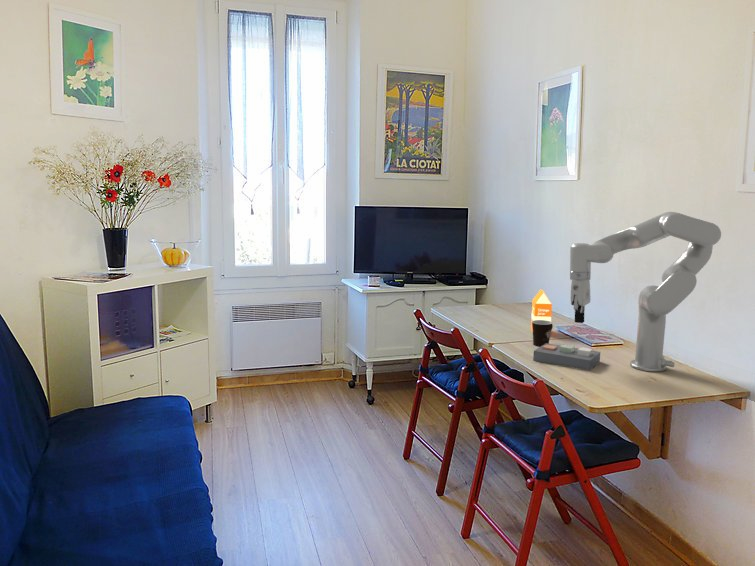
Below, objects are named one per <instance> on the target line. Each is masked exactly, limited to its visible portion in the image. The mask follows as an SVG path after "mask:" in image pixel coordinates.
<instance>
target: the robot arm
mask: <svg viewBox="0 0 755 566" xmlns="http://www.w3.org/2000/svg"><path fill="white" fill-rule="evenodd" d="M670 236H671V237H673V238H676V239H679V240H683V241H686V242H688V244H687V247H686V249H684V251H683V252H682V254H681V255H680V256H679V257H678V258H677V259H676V260H674V261H673V262H672V263H671V264H670V266H669V267H667V268H666V269H665V270H664V271H663V273H662V276H661V282H662V283H661V284H660V285H659V286H658V285H648V286H646V287H644V288H643V289H642V290H641V291H640V293H639V296H638V303H637V304H638V320H637V321H638V322H637V332H636V343H635V356H634V359H633V360H630V363H629V365H630V366H631V367H632V368H634V369H637V370H640V371H645V372H657V373H658V372H663V371H665V370H666V369H667V367H668V368H669V367H671V368H675V366H676V365H675V362H674V361H673V360H668V359H666V358H665V355H663V354H664V344H665V335H666V334H665V333H666V324H667V320H666V317H667V315H668V314H669V313H671V312H672V311H674V309H676V308H677V307H678V306H679V305H680V304H681V303H682V302H683V301H684V300H686V298H687V297H688V296H689V295H690V294H691V293H693V291H694V290H695V288H696V286H697V274H699V272H700V271H701V270H702V269H703V268H704V267H705V266H706V265H707V263H708V262H709V261H710V259H711V256H712V254H713V249H714V248H713V247H714V245H716V244H718V242H719V241H720V240H721V237H722V231H721V228H720V227H719V226H718V225H717V224H715V223H713V222H709V221H706V220H703V219H700V218H696V217H692V216H689V215H686V214H683V213H680V212H677V211H675V212H674V211H667V212H663V213H661V214H659V215H657V216H655V217H652V218H650V219H648V220H644V221H643V222H641V223H639V224H636V225H634V226H631V227H628V228H626V229H623V230H621V231H617V232H615V233H613V234H612V233H611V234H610V235H607V236H605V237H603V238H601V239H598V240H596V241H595V242H593V243H591V244H589V243H585V242H583V243H581V242H577V243H573V244H571V246H570V248H569V249H570V251H569V253H570V255H569V256H570V257H569V258H570V259H569V280H570V281H571V286H570V305H572V306H573V310H574V323H578V324H583V323H584V322H585V310H586V308H585V307H586V305H588V304H590V303H591V281H590V280H591V277H592V276H591V274H592V273H591V270H592V268H591V267H592V266H591V265H592V263H597V264H607V263H609V262H610V261H612V259H613V258H614V255H615V254H618V253H620V252H623V251H626V250H633V249H640V248H645V247H647V246H649V245H651V244H653V243H656V242H658V241H661V240H663V239H666V238H667V237H670Z"/></svg>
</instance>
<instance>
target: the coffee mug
mask: <svg viewBox="0 0 755 566" xmlns="http://www.w3.org/2000/svg"><path fill="white" fill-rule="evenodd" d="M553 327H554V325H553V321H551V322H550V321H546V320H534V321H532V331H533V332H532V331H531V332H532V340H533V341H532V342H533V343H532V345H534V346H536V347H541V346H542V345H544V344H546V343H548V344H550V339H551V334H552V330H553Z"/></svg>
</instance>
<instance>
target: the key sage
mask: <svg viewBox="0 0 755 566" xmlns="http://www.w3.org/2000/svg"><path fill="white" fill-rule="evenodd" d="M575 348H576V346H575V345H571V344H570V345H568V344H562V345H560V352H563V353H569V354H572V353H573V352H574V349H575Z"/></svg>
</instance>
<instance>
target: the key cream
mask: <svg viewBox="0 0 755 566" xmlns="http://www.w3.org/2000/svg"><path fill="white" fill-rule="evenodd" d="M593 351H594V350H593V348H589V347H583V346H582V347H579V349H578V355H581V356H587V357H590V356H591V355H592V352H593Z"/></svg>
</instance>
